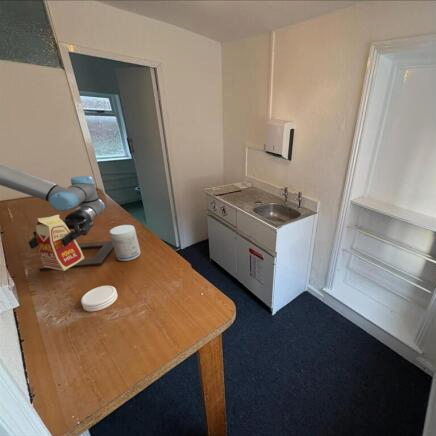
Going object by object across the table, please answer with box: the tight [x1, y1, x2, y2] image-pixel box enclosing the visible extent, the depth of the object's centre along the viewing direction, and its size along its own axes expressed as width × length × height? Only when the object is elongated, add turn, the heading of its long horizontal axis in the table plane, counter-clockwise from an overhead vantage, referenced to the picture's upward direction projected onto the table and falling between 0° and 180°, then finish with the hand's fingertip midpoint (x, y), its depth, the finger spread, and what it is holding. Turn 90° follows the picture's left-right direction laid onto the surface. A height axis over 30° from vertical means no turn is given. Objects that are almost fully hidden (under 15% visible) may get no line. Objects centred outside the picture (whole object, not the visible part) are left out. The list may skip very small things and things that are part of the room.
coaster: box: [80, 285, 118, 312], centre depth 84 cm, size 10×10×4 cm
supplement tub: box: [109, 224, 141, 262], centre depth 108 cm, size 10×10×15 cm
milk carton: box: [35, 214, 85, 271], centre depth 86 cm, size 9×9×20 cm
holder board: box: [38, 240, 115, 272], centre depth 109 cm, size 22×20×2 cm
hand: (47, 244), depth 82 cm, fingers closed on milk carton, 8 cm apart
